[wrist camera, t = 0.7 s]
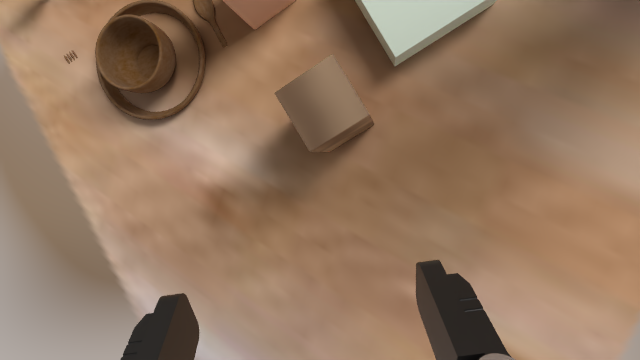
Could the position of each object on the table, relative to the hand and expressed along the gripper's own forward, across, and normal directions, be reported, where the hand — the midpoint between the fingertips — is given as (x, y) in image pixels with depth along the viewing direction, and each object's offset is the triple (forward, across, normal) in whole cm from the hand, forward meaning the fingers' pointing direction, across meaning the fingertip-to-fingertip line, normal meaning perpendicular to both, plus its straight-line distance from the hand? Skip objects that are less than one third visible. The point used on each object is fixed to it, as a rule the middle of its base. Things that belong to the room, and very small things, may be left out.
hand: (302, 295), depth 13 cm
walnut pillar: (+25, -4, +3) cm, 26 cm away
